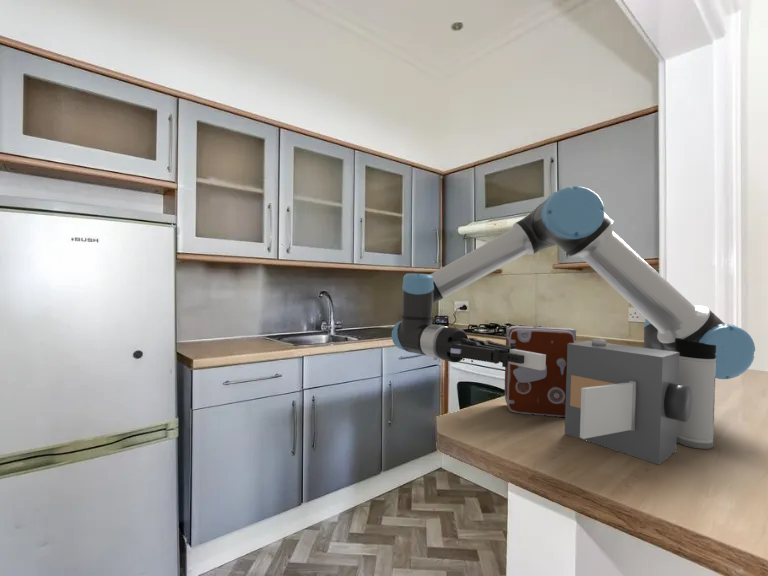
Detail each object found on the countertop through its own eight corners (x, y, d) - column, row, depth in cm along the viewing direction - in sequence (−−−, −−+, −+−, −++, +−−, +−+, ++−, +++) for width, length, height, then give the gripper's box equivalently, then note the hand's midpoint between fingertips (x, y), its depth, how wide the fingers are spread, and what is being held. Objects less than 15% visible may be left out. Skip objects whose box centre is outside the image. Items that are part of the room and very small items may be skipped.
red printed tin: (600, 423, 85) (603, 331, 84) (506, 414, 88) (509, 326, 88) (587, 409, 94) (589, 326, 93) (502, 402, 97) (505, 323, 97)
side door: (630, 428, 68) (631, 380, 68) (635, 430, 67) (637, 382, 67) (578, 438, 63) (580, 386, 63) (584, 440, 62) (586, 388, 62)
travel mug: (661, 436, 78) (665, 336, 77) (692, 436, 78) (695, 336, 78) (688, 449, 71) (692, 341, 71) (722, 449, 72) (726, 341, 72)
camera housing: (692, 456, 69) (696, 348, 69) (676, 470, 63) (680, 353, 63) (585, 424, 83) (588, 335, 83) (564, 434, 77) (567, 338, 77)
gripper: (463, 357, 92) (560, 378, 74) (423, 362, 84) (522, 388, 66) (464, 325, 92) (562, 339, 74) (425, 327, 84) (524, 344, 66)
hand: (543, 362), depth 70 cm, fingers closed
